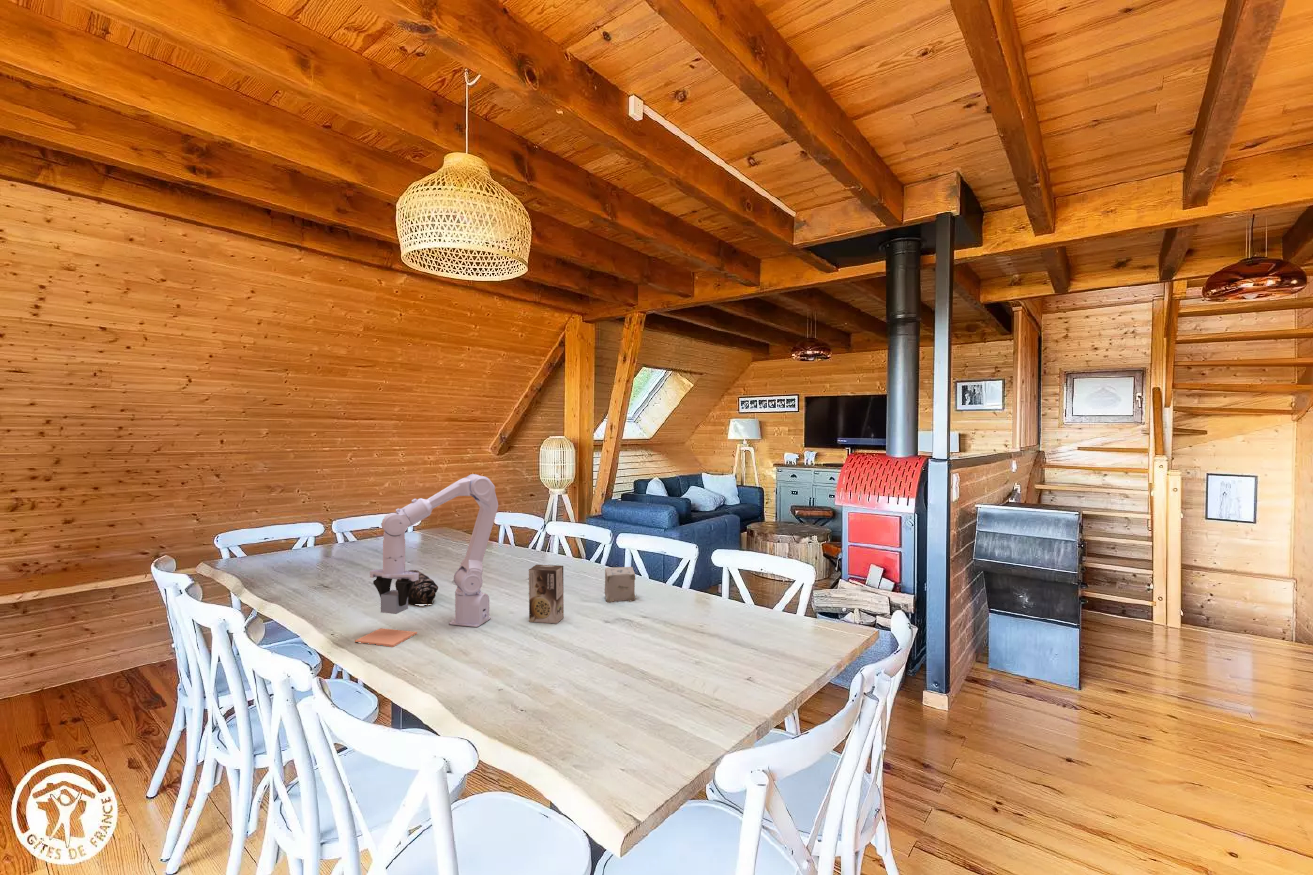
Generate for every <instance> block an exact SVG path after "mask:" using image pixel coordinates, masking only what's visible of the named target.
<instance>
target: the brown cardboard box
mask: <svg viewBox="0 0 1313 875" xmlns="http://www.w3.org/2000/svg"><path fill="white" fill-rule="evenodd" d="M635 580H636V573H635V571H634V567H633V566H621V567H620V566H619V567H616V566H615V567H609V566H608V567H605V569H604V596H605V602H606V603H612V602H621V601H629V602H630V601H634V600H636V597H635V596H636V595H635V594H636V592H635V586H636V585H635Z"/></svg>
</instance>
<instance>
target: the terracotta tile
mask: <svg viewBox="0 0 1313 875" xmlns="http://www.w3.org/2000/svg"><path fill="white" fill-rule="evenodd" d="M415 634H416V635H418V632H417V631H411V630H402V629H391V628H383V627H381V628H377V629H375V630H374V631H372V632H370V633H368V634H365V635H364V636H362V637H359V638H357V639H355V640H354V643H355V642H361V643H360V644H362V643H369V644H368V645H371V644H376V645H375V646H380V645H383V646H382V647H388V646H389V648H390V647H391V648H394V647H396V646H397V645H399V644H401V642H402V643H404V642H405V641H407V640H409V639H411V638H412V637H411V636H413V635H415ZM416 635H415V636H416ZM410 637H411V638H410ZM413 637H414V636H413ZM408 638H409V639H408Z"/></svg>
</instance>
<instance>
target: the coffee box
mask: <svg viewBox="0 0 1313 875" xmlns="http://www.w3.org/2000/svg"><path fill="white" fill-rule="evenodd" d="M528 597H529V598H528V600H529V601H528V608H529V609H528V610H529V611H528V612H529V613H528V615H529V616H528V621H529V623H543V624H545V623H546V624H559V622H560V621H561V620H563V619H564V615H565V614H564V612H565V611H564V601H565V599H564V565H559V564H557V565H556V564H554V565H553V564H535V565H534V566H532V567H531V568H528Z"/></svg>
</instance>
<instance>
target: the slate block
mask: <svg viewBox="0 0 1313 875" xmlns="http://www.w3.org/2000/svg"><path fill="white" fill-rule="evenodd" d="M408 609H409V604H408V598H407V602H406V605H403V606H399V598H398V590H396V589H392V590H391V589H390V591H389V592H386V593H384V594H381V598H380V613H383V614H384V613H385V614H393V615H397V614H399V613H401V612H404V611H405V610H408Z"/></svg>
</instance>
